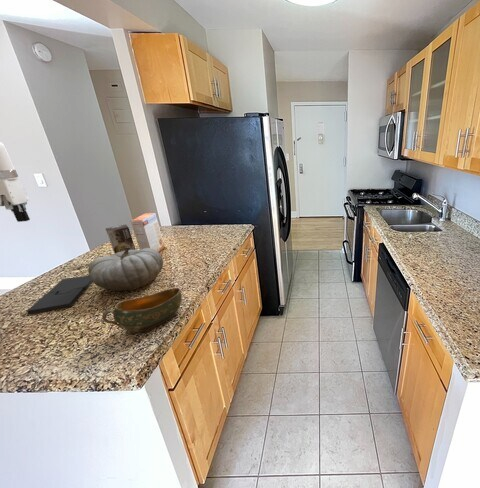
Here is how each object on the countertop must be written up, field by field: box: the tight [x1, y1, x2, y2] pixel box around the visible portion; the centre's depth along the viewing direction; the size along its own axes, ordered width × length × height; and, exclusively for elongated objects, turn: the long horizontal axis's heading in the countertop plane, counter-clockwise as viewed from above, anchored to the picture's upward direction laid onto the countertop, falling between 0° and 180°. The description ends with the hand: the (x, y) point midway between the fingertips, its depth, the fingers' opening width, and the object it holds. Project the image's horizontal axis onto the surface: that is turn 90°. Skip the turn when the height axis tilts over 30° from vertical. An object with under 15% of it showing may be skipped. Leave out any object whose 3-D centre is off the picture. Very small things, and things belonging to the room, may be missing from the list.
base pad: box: [26, 288, 85, 315], centre depth 100 cm, size 12×12×2 cm
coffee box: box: [105, 224, 137, 254], centre depth 136 cm, size 9×6×16 cm
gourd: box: [87, 247, 164, 291], centre depth 109 cm, size 25×25×17 cm
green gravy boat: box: [101, 287, 182, 334], centre depth 87 cm, size 13×20×10 cm, turn 111°
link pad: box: [47, 274, 93, 295], centre depth 109 cm, size 12×14×2 cm
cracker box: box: [130, 212, 166, 253], centre depth 139 cm, size 14×6×21 cm, turn 6°
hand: (23, 220), depth 107 cm, fingers closed
